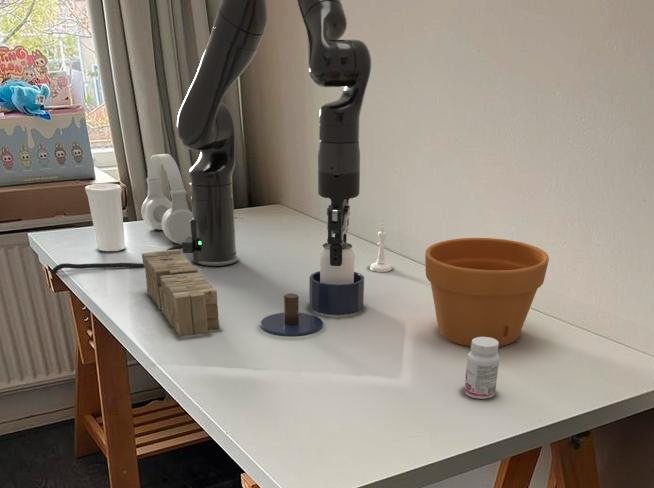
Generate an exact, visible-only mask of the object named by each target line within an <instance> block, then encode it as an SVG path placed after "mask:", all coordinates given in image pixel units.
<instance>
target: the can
mask: <svg viewBox="0 0 654 488" xmlns="http://www.w3.org/2000/svg"><path fill="white" fill-rule="evenodd" d="M319 254H320V255H319V262H320V263H319V271H320V283H325V284H334V285H343V284H351V283H354V272H355V252H354V250H353V244H351V243H349V242H347V243H345V242H343V245H342V265H341V266H331V265H330V245H329V244H328V242H325V243H323V244H322V249H321V251H320V253H319Z"/></svg>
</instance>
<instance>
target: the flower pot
mask: <svg viewBox="0 0 654 488" xmlns="http://www.w3.org/2000/svg"><path fill="white" fill-rule="evenodd" d="M424 255H425V258H424V260H425V261H424V263H425V267H424V268H425V277H426V279H427V280H428V282H430V286H431V287H430V288H431V292H432V298H433V299H432V300H433V304H434V311H435V317H436V323H437V328H438V331H439V333H440V335H441V336H442V337H443V339H446V340H447V341H449V342H451V343H454V344H458V345H461V346H465V347H470V348H471V343H472V340H473V339H474V338H477V337H490V338H494V339H496V340H497V341H498V342H499V345H498V348H500V347H503V346H506V345H509V344H511V343H514V342H515V341H516V340H518V338H519V337H520V334H521V332H522V329H523V327H524V324H525V321H526V320H527V317H528V314H529V311H530V309H531V307H532V304H533V301H534V299H535V296H536V293H537V291H538V290H539V288H541V286H543V284H544V282H545V279H546V275H547V269H548V264H549V261H550V258H549V255H548V253H547V252H546V251H545V250H543V249H541V248H539V247H538V246H534V245H532V244H529V243H525V242H521V241H517V240H511V239H504V238H493V237H461V238H454V239H453V238H452V239H447V240H442V241H439V242H436V243H433V244H431V245H430V246H428V247H427V248H426V249H425V254H424Z"/></svg>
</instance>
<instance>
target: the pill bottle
mask: <svg viewBox="0 0 654 488" xmlns="http://www.w3.org/2000/svg"><path fill="white" fill-rule="evenodd" d="M498 345H499V342H498V341H497V340H496V339H494V338H490V337H477V338H474V339H473V340H472V343H471V347H470V351H469V352H468V354H467V359H466V369H465V377H464V378H465V379H464V387H463V389H464V393H465V395H466V396H468V397H470V398H473V399H478V400H479V399H480V400H487V399H490V398H493V397H494V396H495V394H496V391H497V389H496V388H497V380H498V373H499V365H500V355H499V353H498V352H499V347H498Z"/></svg>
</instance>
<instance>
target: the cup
mask: <svg viewBox="0 0 654 488" xmlns="http://www.w3.org/2000/svg"><path fill="white" fill-rule="evenodd" d="M84 190H85V193H86V196H87V199H88V204H89V209H90V210H89V211H90V215H91V221H92V226H93V231H94V237H95V241H96V245H97V249H98V250H99V251H103V252H117V251H121V250H124V249H125V248H126V242H125V241H126V240H125V228H124V217H123V205H122V186H121V185H120V184H117V183H92V184H89V185H86V186H85V187H84Z"/></svg>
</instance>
